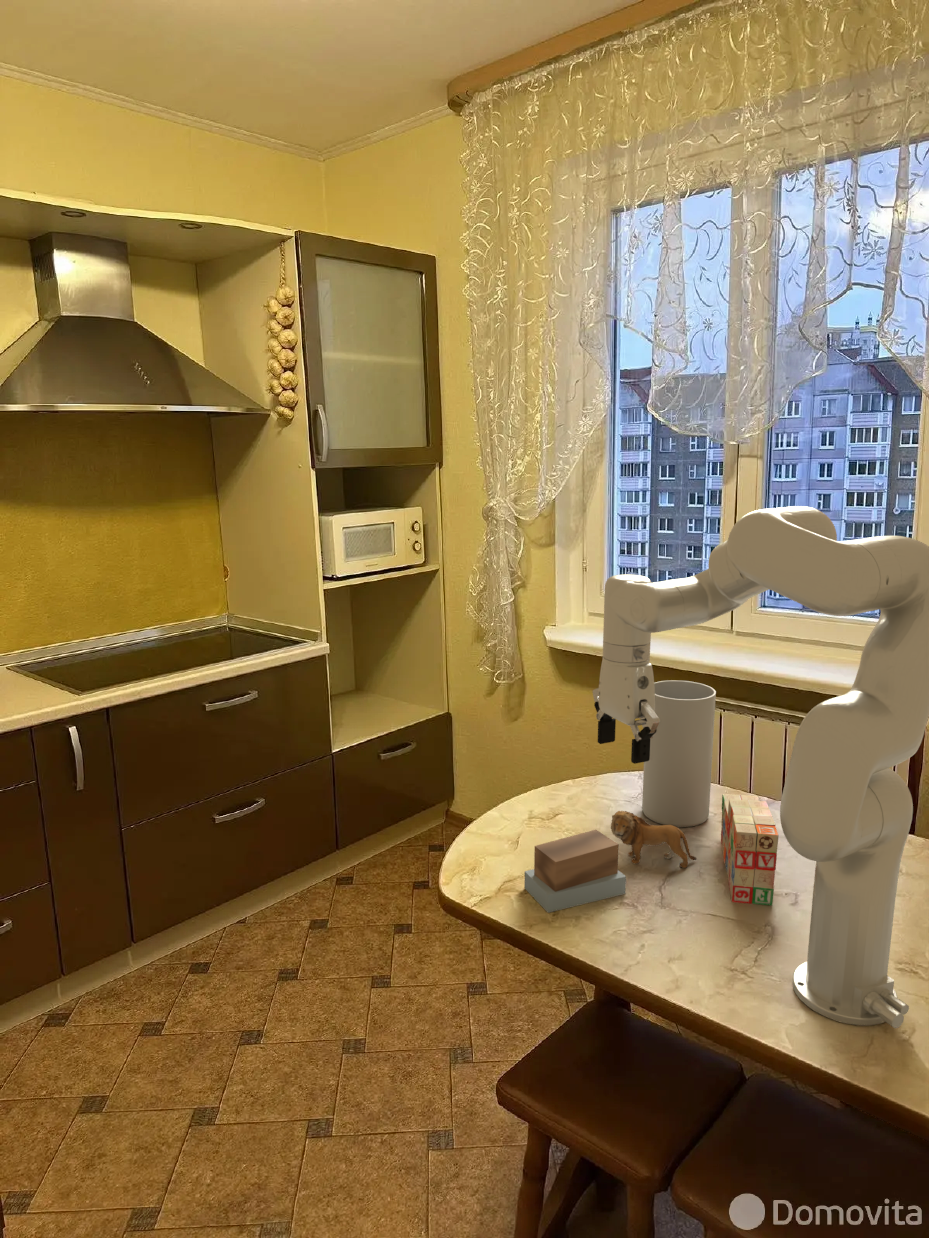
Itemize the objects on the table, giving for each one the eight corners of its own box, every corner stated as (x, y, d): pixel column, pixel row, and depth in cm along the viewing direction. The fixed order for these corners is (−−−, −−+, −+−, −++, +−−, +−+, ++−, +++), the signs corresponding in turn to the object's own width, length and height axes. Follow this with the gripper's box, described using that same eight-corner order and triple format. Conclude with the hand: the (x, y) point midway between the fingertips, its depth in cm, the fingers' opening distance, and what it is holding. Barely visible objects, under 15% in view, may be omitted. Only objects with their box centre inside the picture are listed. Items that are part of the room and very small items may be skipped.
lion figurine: (611, 867, 147) (612, 818, 145) (608, 852, 152) (609, 804, 151) (699, 869, 146) (701, 819, 144) (693, 854, 152) (695, 806, 150)
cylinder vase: (631, 817, 166) (635, 692, 160) (657, 795, 176) (662, 676, 170) (694, 834, 159) (701, 704, 153) (718, 810, 169) (725, 687, 163)
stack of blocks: (719, 840, 157) (723, 776, 154) (755, 843, 155) (760, 779, 153) (731, 903, 136) (736, 830, 133) (773, 906, 135) (779, 833, 132)
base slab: (625, 893, 139) (626, 876, 138) (548, 912, 133) (548, 894, 133) (598, 870, 146) (599, 854, 145) (524, 888, 141) (524, 871, 140)
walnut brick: (617, 872, 139) (618, 844, 138) (555, 891, 134) (555, 861, 133) (595, 857, 144) (595, 829, 143) (534, 874, 139) (534, 845, 138)
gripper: (679, 661, 134) (674, 766, 137) (615, 637, 149) (612, 732, 153) (638, 667, 131) (634, 774, 134) (577, 642, 146) (575, 738, 150)
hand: (622, 751), depth 144 cm, fingers open, 9 cm apart
